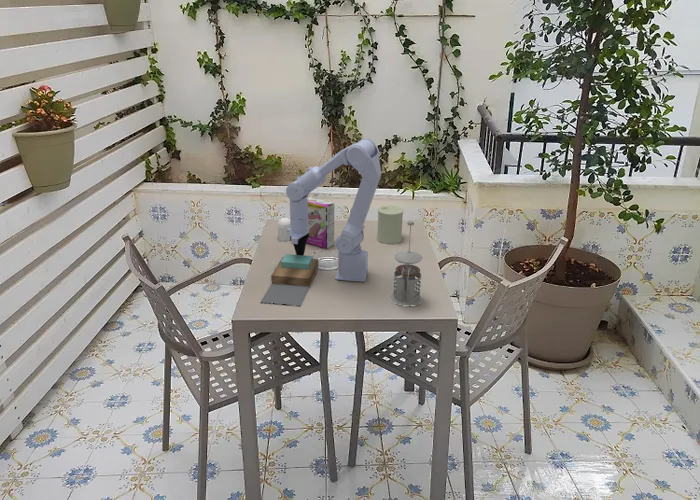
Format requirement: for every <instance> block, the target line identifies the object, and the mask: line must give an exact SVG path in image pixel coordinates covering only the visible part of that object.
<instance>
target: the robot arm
mask: <svg viewBox="0 0 700 500" xmlns="http://www.w3.org/2000/svg"><path fill="white" fill-rule="evenodd" d="M342 165H344V166H350V165H351V166H352V167H353V168H354V169H355V170H356V171H357V172H358V173H359V174H360V176H361V180H360V183H359V186H358V189H357V193H356V195H355V199H354V200H353V204H352V206H351V207H352V208H351V210H350V213H349V215H348V216H349V217H348V219H347V222H346V223H345V225H344V227H343V229H342V231H341V233H340V235H339V236H338V237H336V238H335V240H334V245H335V249H337V251H338V252H337V254H338V255H337V257H338V261H337V262H338V263H337V264H338V265H337V266H338V267H337V269H338V270H337V273H336V276H335V277H334V278H335V280H336V281H337V280H338V281H351V282H361V283H363V282H366V279H367V276H368V273H369V265H368V263H369V262H368V261H369V251H368V250H365V249H362V246H361V243H362V242H363V241H364V237H365V234H364V229H365V225H364V224H365V222H366V219H367V215H368V214H369V211H370V207H371V206H372V205H371V204H372V202H373V199H374V196H375V194H376V191H377V189H378V185H379V183H380V180H381V177H382V168H381V162H380V150H379V147H378V146H377V144H376V142H374V141H373V140H372V139H371V138H367V137H365V138H361V139H360V140H359V141H358V142H355V143H353V144H351V145H349V146H346V147H345V148H342V150H340V151H339V152H337V153H336V154H335V155H333V156H332V157H331V158H329V159H328V160H327V161H326V162H325V163H323V164H322V165H321V166H315V165H314V166H313V167H312V166H310V167H308V168H306V171H305V173H303V174H301V176H300V175H298V176H297V177H296V178H295V179H296V180H295V181H293V182H290V183H289V184H288V186H287V187H286V189H285V194H286V196H287V198H288V199H289V219H290V224H291V228H288V229H287V232H290V233H291V237H290V242H291V243H290V244H292V245H293V248H294V251H295V255H305V252H306V245H307V243H306V242H307V239H308V237H309V228H308V196H309V194H311V193H312V192H313V191H315V189H318V187H320V186H321V185H322V184H324V183H325V182H326V180H327V175H329V174H330V173H332V172H333V171H335V170H336V169H338V168H339V167H340V166H342Z"/></svg>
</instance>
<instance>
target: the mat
mask: <svg viewBox="0 0 700 500" xmlns="http://www.w3.org/2000/svg"><path fill="white" fill-rule="evenodd" d="M309 289H310V287H309V286H299V285H287V284H275V283H272V282H271V284H270V285H269V287H268V288H267V290H266V292H265V294H264V295H263V297H262V298H261V300H260V302H262V303H261V304H267V303H274V304H273V305H278V304H286V305H285V306H290V305H296V306H295V307H301V305H302V303H303V302H304V299H305V298H306V295H307V293H308V291H309Z"/></svg>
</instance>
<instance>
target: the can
mask: <svg viewBox="0 0 700 500" xmlns="http://www.w3.org/2000/svg"><path fill="white" fill-rule="evenodd" d="M377 213H378V214H377V235H376V240H377V241H378V242H380V243H381V244H387V245H393V244H399V243H400V242H401V241H402V240H403V239H402V238H403V237H402V234H403V218H404V216H403V215H404V209H403V208H402V207H401V206H396V205H383V206H380V207H379V208H378V209H377Z"/></svg>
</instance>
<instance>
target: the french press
mask: <svg viewBox="0 0 700 500" xmlns="http://www.w3.org/2000/svg"><path fill="white" fill-rule="evenodd" d="M406 224H407V226H409V234H411V233H412V232H411V231H412V228H411V227H412V226H414V224H415V222H414V221H413V220H411V219H410V220H408V221H407V222H406ZM408 239H409V241H408V249H406V250H405V249H404V250H401V251H399V252H397V253H395V254H394V259H395V261H397V263H400V264H399V265H398V266H396V267H395V271H394V275H393V293H391V295H390V298H391V300H392V301H393V302H395V303H397V304H401V305H417V304H419V303H421V304H422V302H423V301H422V299H423V296H421V286H422V285H421V284H422V281H421V280H422V274H421V269H420V268H419V267H418V266H417V265H415V264H418V263H420V262H422V260H423V259H424V258H423V255H421V254H420V253H419V252H417V251H415V250H410V249H411V236H409V237H408ZM413 264H414V265H413ZM391 300H390V301H391ZM392 301H391V302H392ZM421 301H422V302H421ZM393 302H392V303H393ZM419 305H420V304H419ZM417 306H418V305H417Z"/></svg>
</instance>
